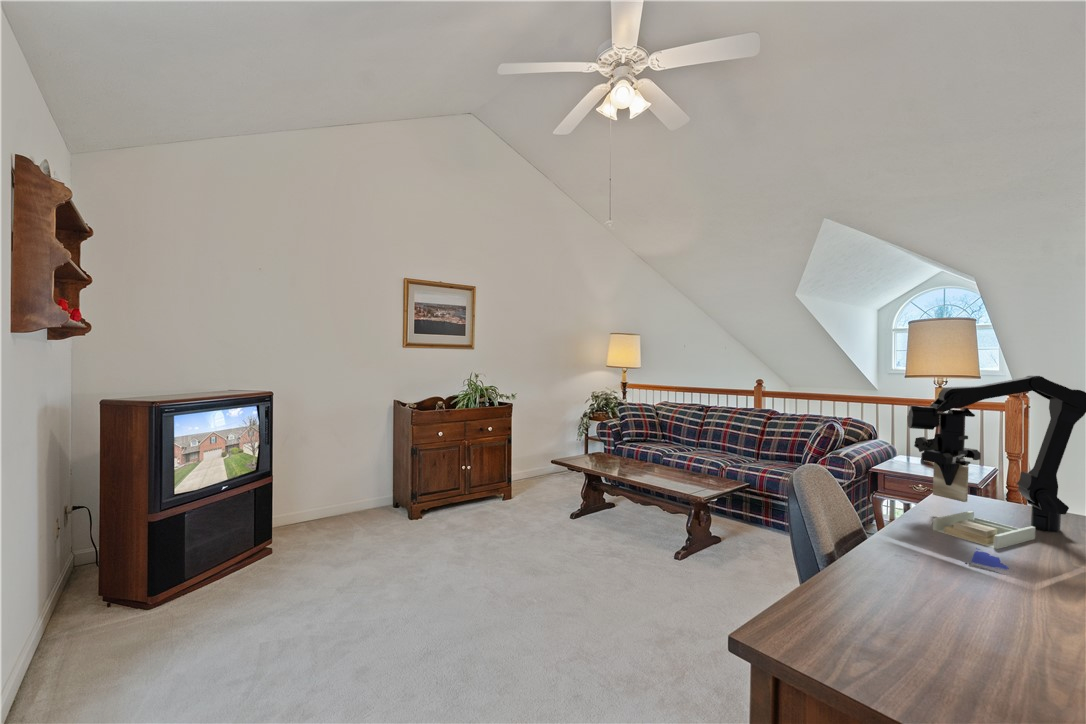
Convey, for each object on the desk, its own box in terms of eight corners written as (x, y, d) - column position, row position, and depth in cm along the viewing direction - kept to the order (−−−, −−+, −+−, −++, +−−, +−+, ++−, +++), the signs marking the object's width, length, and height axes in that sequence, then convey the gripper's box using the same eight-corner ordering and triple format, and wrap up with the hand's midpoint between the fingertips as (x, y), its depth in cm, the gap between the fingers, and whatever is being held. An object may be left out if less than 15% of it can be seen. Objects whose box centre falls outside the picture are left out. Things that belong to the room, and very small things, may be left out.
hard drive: (1018, 573, 108) (1018, 557, 117) (968, 561, 114) (972, 546, 123) (1018, 580, 108) (1018, 563, 117) (968, 568, 114) (972, 553, 123)
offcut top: (964, 525, 134) (964, 520, 134) (996, 534, 127) (997, 528, 127) (953, 528, 132) (953, 522, 132) (986, 537, 125) (986, 531, 125)
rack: (969, 525, 142) (970, 510, 142) (1034, 542, 130) (1035, 527, 130) (932, 533, 135) (933, 518, 135) (997, 552, 122) (998, 536, 122)
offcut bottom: (957, 529, 135) (957, 524, 135) (999, 541, 127) (999, 535, 127) (944, 532, 133) (944, 526, 133) (986, 544, 124) (986, 538, 124)
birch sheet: (935, 494, 150) (936, 460, 150) (967, 501, 143) (968, 466, 143) (932, 494, 150) (933, 461, 150) (964, 502, 143) (965, 466, 142)
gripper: (939, 425, 157) (937, 475, 158) (902, 428, 149) (900, 481, 150) (982, 431, 147) (980, 484, 147) (945, 434, 139) (943, 490, 140)
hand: (950, 485), depth 146 cm, fingers closed on birch sheet, 1 cm apart
